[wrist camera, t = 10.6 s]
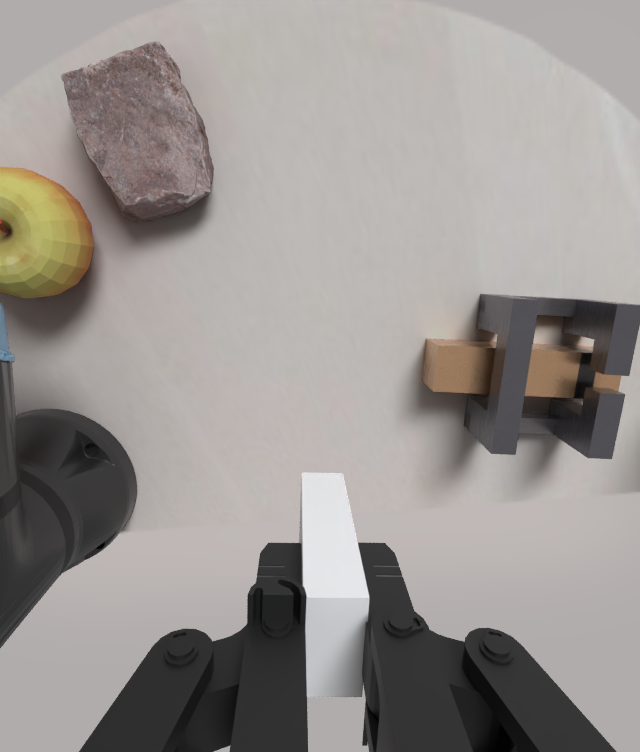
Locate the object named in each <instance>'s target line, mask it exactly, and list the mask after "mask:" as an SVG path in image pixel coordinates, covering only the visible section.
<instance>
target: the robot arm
mask: <svg viewBox="0 0 640 752" xmlns="http://www.w3.org/2000/svg"><path fill="white" fill-rule="evenodd" d="M12 362H15V357H14V355H13V354H12V353H11V352H10V348H9V342H8V335H7V328H6V320H5V313H4V309H3V306H2V304H1V302H0V648H1V646H2V645H3V644H4V643H5V642H6V640H7V639H8V638H9V637H10V635H11V634H12V633H13V632H14V631H15V629H16V628H17V627H18V626H19V624H20V623H21V622H22V621H23V619H24V618H25V617H26V616H27V615H28V613H29V612H30V611H31V610H32V609H33V607H34V606H35V605H36V604H37V602H38V601H39V600H40V599H41V598H42V596H43V595H44V594H45V593H46V591H47V590H48V589H49V588H50V587H51V585H52V584H53V583H54V582H55V581H56V579H57V578H58V577H59V576H60V575H61V574H62V573H63V572H65V571H67V570H69V569H70V568H72V567H74V566H76V565H78V564H79V563H81V562H83V561H84V560H86V559H88V558H90V557H92V556H94V555H96V554H97V553H99V552H100V551H102V550H103V549H104V548H106V547H107V546H108V545H109V544H110V543H111V542H112V541H113V540H114V539H115V538H116V536H117V535H118V534H119V532H120V531H121V530H122V528H123V527H124V526H125V524H126V523H127V521H128V520H129V518H130V516H131V514H132V512H133V509H134V505H135V501H136V494H137V484H136V476H135V472H134V469H133V466H132V463H131V461H130V459H129V457H128V455H127V453H126V451H125V450H124V448H123V447H122V445H121V444H120V443H119V442H118V440H117V439H116V438H115V437H114V436H113V435H112V434H111V433H110V432H109V431H107V430H106V429H105V428H104V427H102V426H101V425H99V424H98V423H96V422H95V421H93V420H91V419H89V418H87V417H85V416H82V415H79V414H77V413H73V412H70V411H65V410H58V409H40V410H33V411H29V412H25V413H22V414H20V415H17V416H16V411H15V397H14V383H13V369H12ZM363 683H364V690H365V696H366V704H365V717H364V730H363V745H367V743H368V746H369V752H616V751H615V750H614V749H613V748H612V746H611V745H610V744H609V743H608V742H607V741H606V739H605V738H604V737H603V736H602V735H601V734H600V733H599V732H598V730H597V729H596V728H595V727H594V726H593V725H592V724H591V723H590V721H589V720H588V719H587V718H586V717H585V716H584V715H583V714H582V712H581V711H580V710H579V709H578V708H577V707H576V706H575V705H574V704H573V703H572V701H571V700H570V699H569V698H568V697H567V696H566V695H565V693H564V692H563V691H562V690H561V689H560V688H559V687H558V686H557V684H556V683H555V682H554V681H553V680H552V679H551V678H550V677H549V675H548V674H547V673H546V672H545V671H544V670H543V669H542V668H541V667H540V665H539V664H538V663H537V662H536V661H535V660H534V659H533V658H532V657H531V655H530V654H529V653H528V652H527V651H526V650H525V648H524V647H523V646H522V645H521V644H519V642H517V641H516V640H515V639H514V638H513V637H511V636H509V635H507V634H505V633H504V632H501V631H498V630H494V629H491V628H478V629H475V630H473V631H471V632H469V634H468V635H467V637H466V638H465V642H463V641H458V640H455V639H451V638H447V637H444V636H441V635H438V634H436V633H434V632H433V631H431V630H429V627H428V625H427V624H426V622H425V621H424V619H423V618H422V617H421V616H420V615H418V614H417V613H416V612H414V609H413V606H412V603H411V600H410V597H409V594H408V591H407V588H406V585H405V582H404V579H403V577H402V574H401V570H400V568H399V564H398V562H397V558H396V556H395V553H394V552H393V551H392V550H391V549H390V548H389V547H388V546H387V545H386V544H385V543H358V542H357V538H356V533H355V528H354V523H353V519H352V514H351V509H350V505H349V500H348V495H347V491H346V486H345V481H344V477H343V473H305V472H302V478H301V506H300V534H299V543H268V544H267V545H266V547H265V548H264V549H263V550H262V552H261V553H260V559H259V567H258V574H257V581H256V584H254V585H253V586H252V587H251V589H250V591H249V593H248V623H247V625H246V626H245V627H244V628H243V629H242V630H241V631H239V632H238V633H236V634H234V635H232V636H230V637H227V638H224V639H220V640H217V641H213V642H212V640H211V639H210V638H209V637H208V635H207V634H206V633H204V632H201V631H199V630H196V629H182V630H178V631H173V632H171V633H169V634H167V635H165V636H164V637H162V638H160V640H159V641H158V642H157V643H156V644H155V645H154V646H153V647H152V648H151V650H150V651H149V652H148V654H147V655H146V657H145V658H144V660H143V661H142V663H141V664H140V665H139V667H138V668H137V670H136V671H135V673H134V674H133V676H132V677H131V678H130V680H129V681H128V683H127V684H126V685H125V687H124V688H123V690H122V691H121V693H120V694H119V695H118V697H117V698H116V700H115V701H114V703H113V704H112V705H111V707H110V708H109V710H108V711H107V713H106V714H105V715H104V717H103V718H102V720H101V721H100V723H99V724H98V725H97V727H96V728H95V730H94V731H93V733H92V734H91V736H90V737H89V738H88V740H87V741H86V743H85V744H84V746H83V747H82V748H81V750H80V751H79V752H213V751H216V750H219V749H221V748H224V747H227V746H230V745H231V747H230V752H308V728H307V697H362V689H363Z"/></svg>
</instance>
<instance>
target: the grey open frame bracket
mask: <svg viewBox="0 0 640 752" xmlns="http://www.w3.org/2000/svg"><path fill="white" fill-rule="evenodd" d="M537 315H549V316H565V320H564V325H563V331H562V332H566V333H570V334H575V335H579V336H583V337H587V338H591V339H595V341H594V346H593V351H592V357H591V362H590V367H589V369H590V370H592V371H595V372H598V373H601V374H604V375H622V376H629V374H630V369H631V364H632V359H633V354H634V349H635V344H636V340H637V335H638V330H639V325H640V305H635V304H625V303H616V302H606V301H596V300H584V299H565V298H546V297H527V296H509V295H490V294H481V296H480V304H479V311H478V319H477V327H478V328H480V329H483V330H486V331H489V332H492V333H495V334H498V336H497V343H496V350H495V357H494V365H493V372H492V379H491V386H490V393H489V396H468V397H467V405H466V413H465V421H464V426H465V427H466V428H467V429H468V430H469V431H470V432H471V433H472V434H473V435H474V436H475V437H476V439H477V440H478V441H479V442H480V443H481V444H482V445H483V446H484V447H485V448H486V449H487V450H488V451H489V452H490V453H491V454H512V455H515V454H516V448H517V441H518V435H519V433H528V434H549V435H555V436H556V437H558V438H559V439H561V440H562V441H564V442H565V443H567V444H568V445H570V446H571V447H573V448H574V449H575V450H577V451H578V452H580V453H581V454H583V455H584V456H586V457H587V458H600V459H612V456H613V451H614V446H615V441H616V437H617V432H618V427H619V422H620V417H621V412H622V407H623V403H624V398H625V394H623V393H621V392H618V391H616V390H613V389H611V388H598V387H586V389H585V394H584V400H583V405H580V404H578V403H576V402H574V401H572V400H551V402H550V408H549V414H527V413H522V409H523V403H524V397H525V390H526V384H527V377H528V371H529V365H530V358H531V352H532V345H533V339H534V333H535V326H536V320H537Z"/></svg>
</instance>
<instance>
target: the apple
mask: <svg viewBox="0 0 640 752" xmlns="http://www.w3.org/2000/svg"><path fill="white" fill-rule="evenodd" d="M93 250H94V242H93V235H92V228H91V223H90V221H89V220H88V218H87V216H86V214H85V212H84V210H83V208H82V206H81V204H80V203H79V202H78V201H77V200H76V199H75V198H74V197H73V196H72V195H71V194H70V193H69V192H68V191H67V190H66V189H65V188H64V187H63V186H61V185H60V184H58V183H56V182H54V181H52V180H50V179H48V178H46V177H44V176H41V175H39V174H37V173H35V172H33V171H30V170H26V169H22V168H9V167H0V292H1V293H5V294H9V295H13V296H17V297H21V298H37V297H45V296H53V295H58V294H61V293H62V292H64V291H66V290H68V289H69V288H71V287H73V286H75V285H76V284H78V282H79V281H80V280H81V278H82V277H83V275H84V274H85V273H86V271H87V270H88V269H89V267H90V262H91V258H92V254H93Z"/></svg>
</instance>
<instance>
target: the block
mask: <svg viewBox="0 0 640 752" xmlns="http://www.w3.org/2000/svg"><path fill="white" fill-rule="evenodd" d="M496 343H497V342H486V341H466V340H445V339H426V348H425V358H424V368H423V377H422V381H423V382H424V383H425V384H426V385H427V386H428V387H429V388H430V389H431V390H432V391H433V392H454V393H475V394H489V393H490V386H491V379H492V372H493V365H494V357H495V350H496ZM592 351H593V347H587V346H566V345H546V344H533V345H532V352H531V358H530V365H529V371H528V377H527V384H526V390H525V396H539V397H560V398H582V399H584V394H585V389H586V387H598V388H611V389H613V390H616V391H618V389H619V385H620V380H621V375H604V374H601V373H598V372H595V371H592V370H590V369H589V367H590V362H591V357H592Z"/></svg>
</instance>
